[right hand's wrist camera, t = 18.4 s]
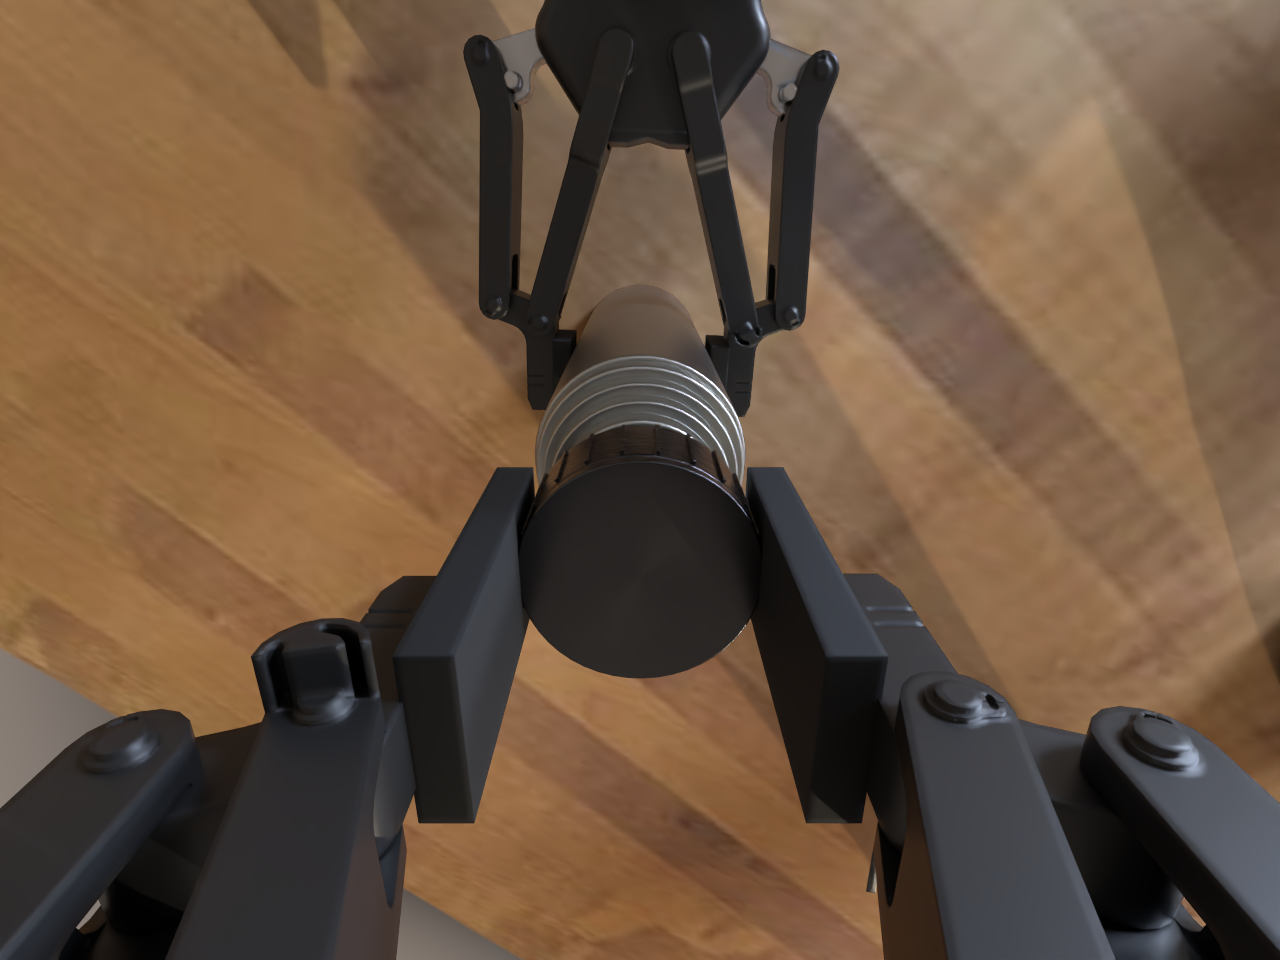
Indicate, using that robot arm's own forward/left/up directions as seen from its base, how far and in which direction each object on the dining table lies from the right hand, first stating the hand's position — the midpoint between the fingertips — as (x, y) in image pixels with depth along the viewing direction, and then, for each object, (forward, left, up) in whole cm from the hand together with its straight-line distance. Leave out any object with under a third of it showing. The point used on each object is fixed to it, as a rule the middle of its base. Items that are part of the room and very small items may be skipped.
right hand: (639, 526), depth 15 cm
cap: (0, 0, +2) cm, 2 cm away
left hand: (+3, +4, -16) cm, 17 cm away
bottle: (0, 0, -22) cm, 22 cm away
